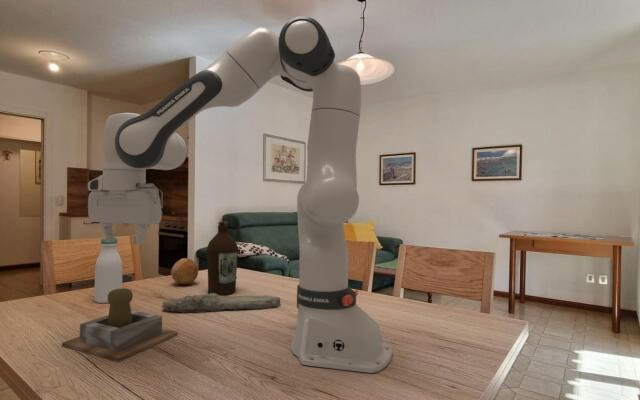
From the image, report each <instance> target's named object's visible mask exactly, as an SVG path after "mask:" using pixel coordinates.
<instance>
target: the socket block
mask: <svg viewBox="0 0 640 400" xmlns="http://www.w3.org/2000/svg"><path fill="white" fill-rule="evenodd" d="M108 315H109V314H107V315H105V316H101V317H98V318H95V319H92V320H89V321H86V322H82V323H80V324H79V336H78V337H74V338H71V339H69V340H66V341H63V342H61V347H63V348H68V349H71V350H75V351H78V352H82V353H86V354H89V355H94V356H97V357H100V358H104V359H107V360H111V361H115V362H118V363H119V362H121V361H123V360H126V359H127V358H130V357H131V356H134V355H136V354H137V355H138V353H141V352H143V351H145V350H148V349H150V348H153V347H154V346H156V345H159V344H161V343H163V342H165V341H168V340H170V339H172V338H174V337H177V336H178V335H179V334H178V331H177V330H170V329H166V328H163V316H162V315H158V314H155V313H154V314H153V313H147V312H142V311H139V310H138V311H137V310H133V309H132V310H131V315H132V324H129V325H126V326H124V327H121V328H117V327H112V326H108V325H107V322H108Z"/></svg>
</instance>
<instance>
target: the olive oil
mask: <svg viewBox="0 0 640 400" xmlns="http://www.w3.org/2000/svg"><path fill="white" fill-rule="evenodd" d="M228 231H229V225H228V221H218V225H217V233H216V234H214V236H213V237H212V238H211V240H210V241H209V242H208V244H207V247H206V258H207V262H206V263H207V293H208V295H209V294H210V293H211V294H212V293H216V294H217V295H220V296H229V295H233V294H235V293H236V291H237V290H236V289H237V286H236V285H237V268H238V256H239V254H238V253H239V248H238V243H237V242H236V240H235V238H234V237H232V236H231V234H230V233H229V232H228Z"/></svg>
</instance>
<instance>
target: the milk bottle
mask: <svg viewBox="0 0 640 400" xmlns="http://www.w3.org/2000/svg"><path fill="white" fill-rule="evenodd" d="M115 238H116V240H115V241H114V242H106V241H105V237H103V238H101V239H100V246H101V250H100V253H99V255H98V256H97V259H96V262H95V265H94V266H95V267H94V302H95V303H98V304H107V303H108V294H109V292H111V291H112V290H115V289H121V288H123V260H122V257H121V256H120V253H119V252H118V249H117V247H118V246H117V245H118V238H117V237H115ZM108 304H109V303H108Z"/></svg>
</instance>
